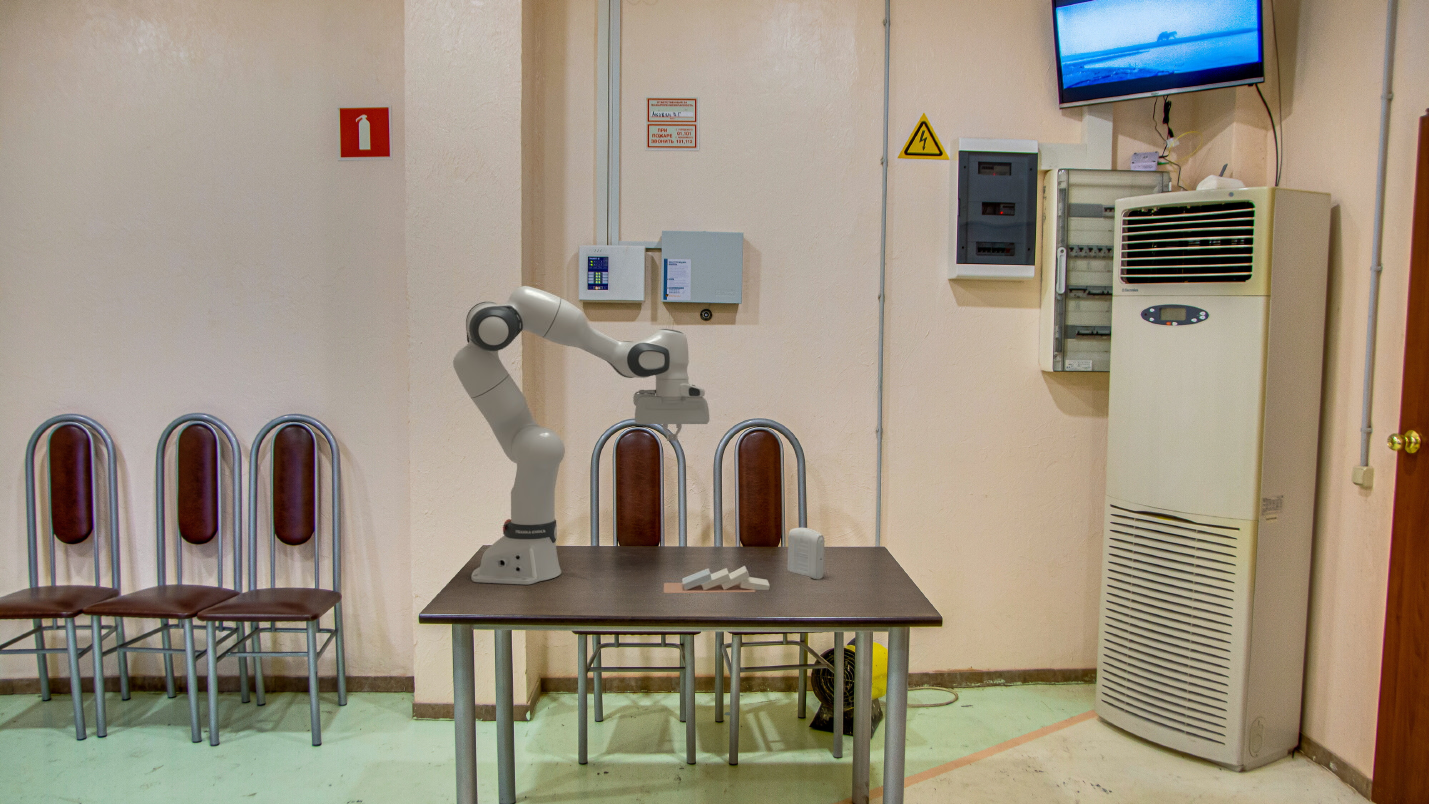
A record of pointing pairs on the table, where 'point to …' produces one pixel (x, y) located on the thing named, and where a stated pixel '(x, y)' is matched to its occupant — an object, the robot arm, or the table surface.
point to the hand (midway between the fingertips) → (672, 440)
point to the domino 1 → (696, 579)
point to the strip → (699, 589)
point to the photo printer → (806, 552)
